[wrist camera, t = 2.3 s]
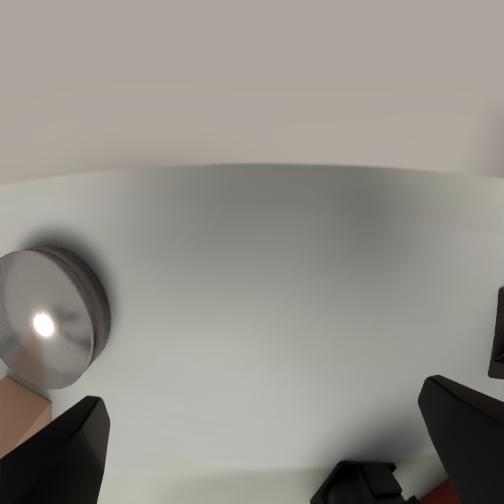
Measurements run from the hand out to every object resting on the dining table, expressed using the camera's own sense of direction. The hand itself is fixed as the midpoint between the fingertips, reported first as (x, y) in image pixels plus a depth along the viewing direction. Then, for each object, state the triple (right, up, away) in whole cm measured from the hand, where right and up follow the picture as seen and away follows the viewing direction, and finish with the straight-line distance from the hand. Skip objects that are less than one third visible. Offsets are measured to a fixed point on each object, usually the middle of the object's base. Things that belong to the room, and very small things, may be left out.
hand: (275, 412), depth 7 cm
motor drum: (-14, 0, +11) cm, 18 cm away
